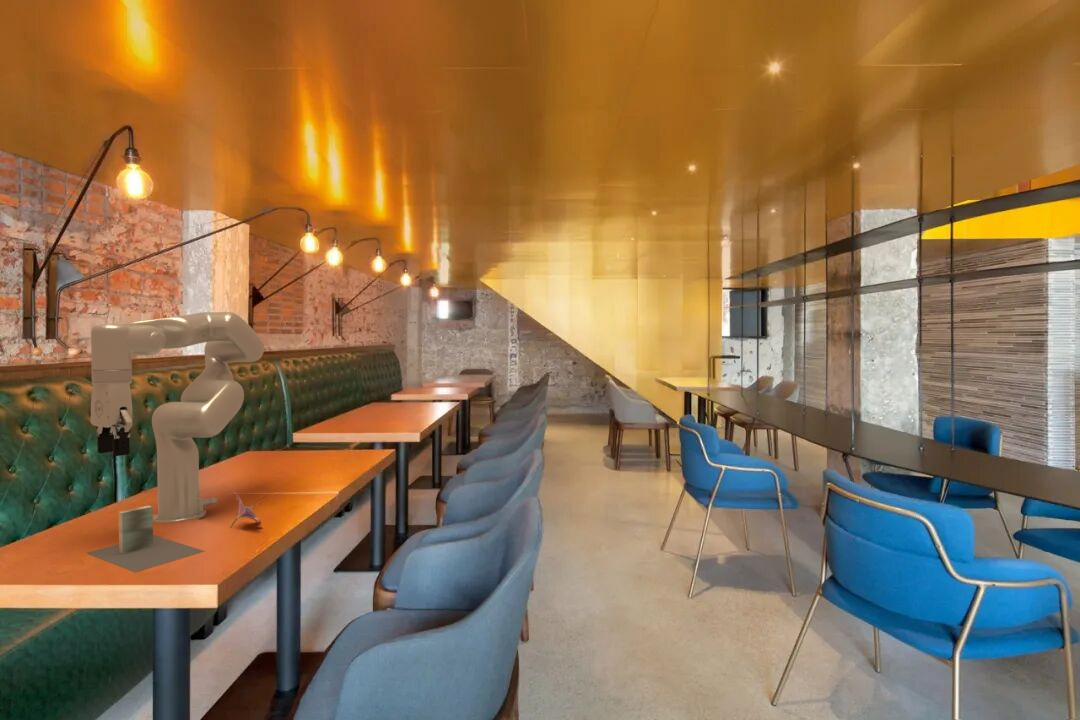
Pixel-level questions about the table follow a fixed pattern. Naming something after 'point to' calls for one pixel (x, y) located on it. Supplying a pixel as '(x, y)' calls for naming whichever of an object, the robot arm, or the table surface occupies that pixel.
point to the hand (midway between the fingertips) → (113, 453)
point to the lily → (245, 512)
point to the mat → (146, 554)
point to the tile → (135, 529)
